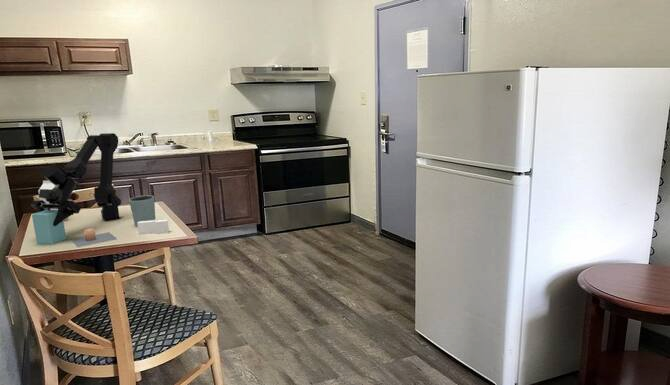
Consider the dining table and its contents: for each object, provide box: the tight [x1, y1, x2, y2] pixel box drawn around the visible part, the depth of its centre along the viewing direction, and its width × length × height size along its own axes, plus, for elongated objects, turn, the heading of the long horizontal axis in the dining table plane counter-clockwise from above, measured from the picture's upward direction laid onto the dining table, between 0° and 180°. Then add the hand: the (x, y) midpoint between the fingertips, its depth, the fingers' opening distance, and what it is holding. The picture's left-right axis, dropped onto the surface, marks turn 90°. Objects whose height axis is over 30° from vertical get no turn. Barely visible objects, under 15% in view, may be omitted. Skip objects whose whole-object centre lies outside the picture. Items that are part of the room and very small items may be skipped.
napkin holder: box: [137, 219, 170, 235], centre depth 188 cm, size 15×11×6 cm
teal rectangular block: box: [31, 210, 67, 245], centre depth 180 cm, size 7×7×12 cm
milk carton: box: [37, 180, 70, 222], centre depth 211 cm, size 7×7×19 cm
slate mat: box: [70, 231, 118, 248], centre depth 182 cm, size 14×13×1 cm
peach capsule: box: [83, 227, 96, 241], centre depth 182 cm, size 4×4×4 cm
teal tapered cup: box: [128, 194, 156, 228], centre depth 200 cm, size 10×10×12 cm
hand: (46, 225), depth 179 cm, fingers closed on teal rectangular block, 7 cm apart
